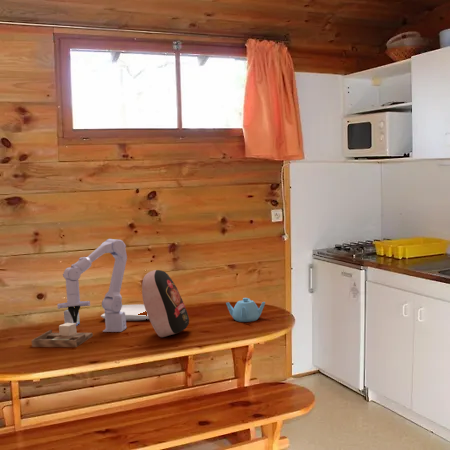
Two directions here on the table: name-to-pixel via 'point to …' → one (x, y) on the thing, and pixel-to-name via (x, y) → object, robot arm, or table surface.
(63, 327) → the cream block
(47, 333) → the trap tray
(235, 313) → the teapot
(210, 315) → the table surface
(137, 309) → the square plate
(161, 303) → the packaged food
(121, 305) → the robot arm
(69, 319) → the medicine box
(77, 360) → the table surface
